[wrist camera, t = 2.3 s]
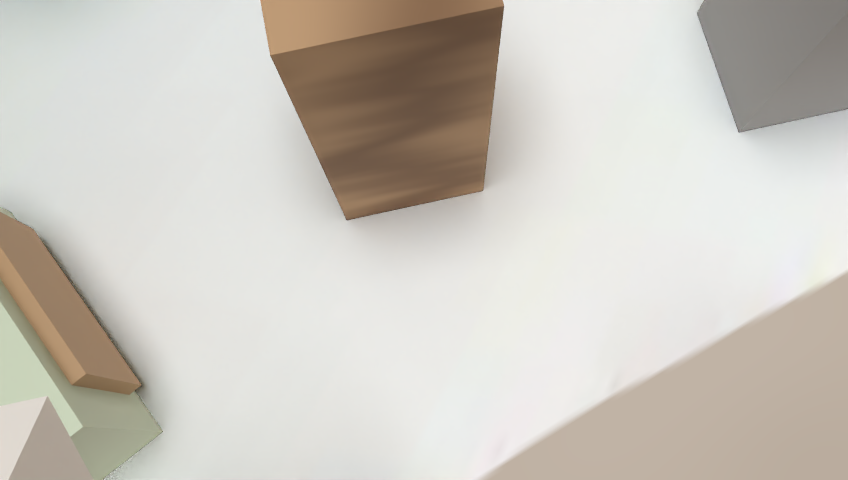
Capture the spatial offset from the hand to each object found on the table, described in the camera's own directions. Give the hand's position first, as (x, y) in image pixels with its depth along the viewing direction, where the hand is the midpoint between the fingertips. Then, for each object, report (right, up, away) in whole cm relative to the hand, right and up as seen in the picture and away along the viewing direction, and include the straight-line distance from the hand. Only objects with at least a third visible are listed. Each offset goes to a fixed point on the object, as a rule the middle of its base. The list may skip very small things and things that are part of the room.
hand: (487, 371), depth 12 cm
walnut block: (-2, +6, +16) cm, 17 cm away
